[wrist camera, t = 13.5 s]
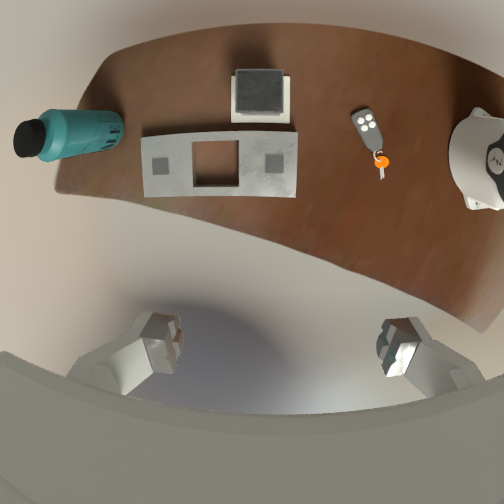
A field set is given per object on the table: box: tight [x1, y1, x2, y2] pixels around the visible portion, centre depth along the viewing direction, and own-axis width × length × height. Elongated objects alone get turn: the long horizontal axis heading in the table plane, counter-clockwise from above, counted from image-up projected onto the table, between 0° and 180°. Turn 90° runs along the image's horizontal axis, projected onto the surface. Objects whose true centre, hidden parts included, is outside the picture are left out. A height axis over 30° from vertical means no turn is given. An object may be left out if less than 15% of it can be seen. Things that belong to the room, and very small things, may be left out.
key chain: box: [351, 108, 389, 179], centre depth 35 cm, size 13×4×2 cm, turn 30°
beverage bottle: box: [13, 109, 124, 162], centre depth 27 cm, size 6×7×20 cm
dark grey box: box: [235, 69, 284, 116], centre depth 30 cm, size 5×5×7 cm
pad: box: [231, 76, 290, 123], centre depth 33 cm, size 8×7×1 cm
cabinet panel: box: [141, 131, 298, 197], centre depth 37 cm, size 22×9×2 cm, turn 90°
